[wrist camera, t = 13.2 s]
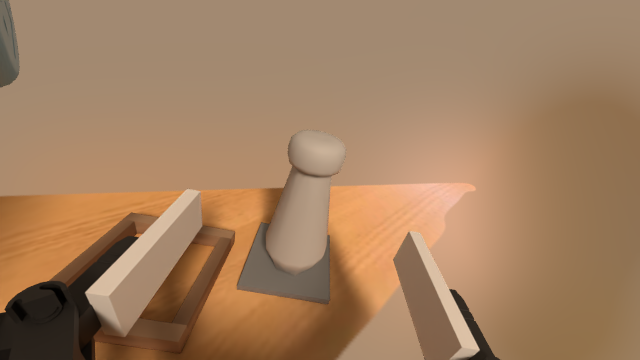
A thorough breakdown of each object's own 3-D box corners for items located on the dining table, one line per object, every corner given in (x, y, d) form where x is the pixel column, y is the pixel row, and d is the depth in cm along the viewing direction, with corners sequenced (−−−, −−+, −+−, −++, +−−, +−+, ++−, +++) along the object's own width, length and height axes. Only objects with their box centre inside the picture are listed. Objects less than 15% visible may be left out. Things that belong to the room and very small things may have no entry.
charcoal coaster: (237, 289, 20) (237, 284, 19) (260, 226, 27) (261, 222, 26) (328, 304, 20) (329, 300, 20) (328, 238, 27) (329, 235, 27)
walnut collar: (16, 330, 14) (5, 317, 14) (134, 224, 23) (131, 212, 22) (180, 353, 15) (178, 341, 14) (234, 242, 24) (234, 231, 23)
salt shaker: (263, 235, 25) (279, 117, 18) (315, 236, 26) (346, 127, 20) (262, 285, 20) (283, 147, 13) (325, 282, 21) (371, 158, 15)
